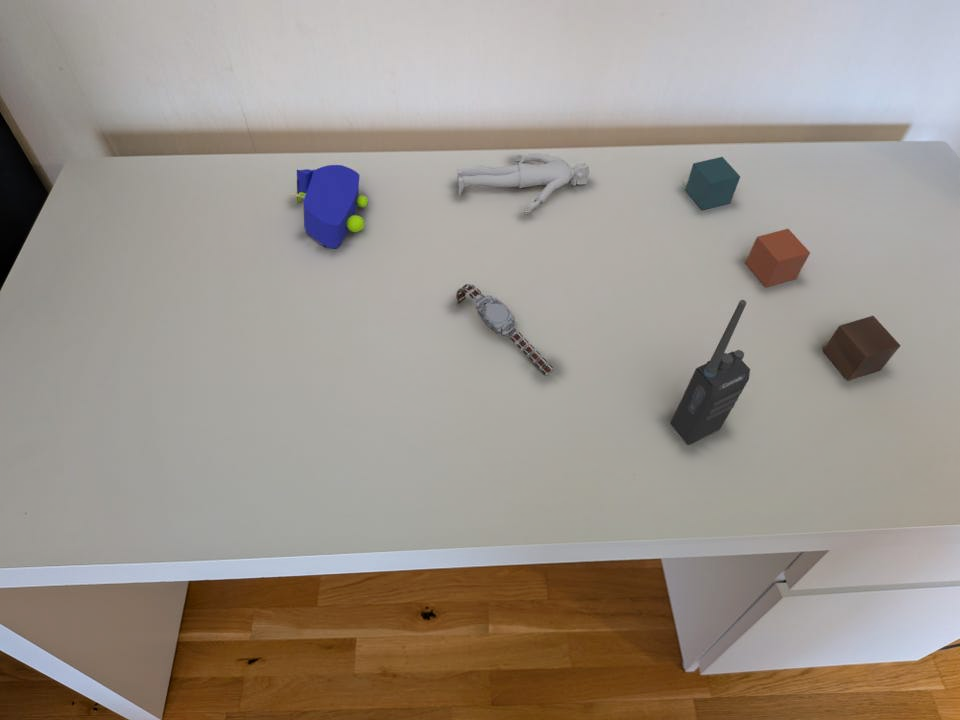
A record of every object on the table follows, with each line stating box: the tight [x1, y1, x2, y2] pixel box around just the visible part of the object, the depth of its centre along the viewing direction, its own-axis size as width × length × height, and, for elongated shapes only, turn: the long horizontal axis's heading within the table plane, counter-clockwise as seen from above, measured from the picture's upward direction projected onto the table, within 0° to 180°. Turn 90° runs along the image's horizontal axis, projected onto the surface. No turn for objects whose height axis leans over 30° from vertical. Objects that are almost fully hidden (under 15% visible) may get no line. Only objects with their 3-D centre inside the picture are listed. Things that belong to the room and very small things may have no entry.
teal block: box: [684, 156, 741, 211], centre depth 91 cm, size 4×4×4 cm
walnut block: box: [822, 315, 902, 381], centre depth 75 cm, size 4×4×4 cm
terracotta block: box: [745, 228, 811, 288], centre depth 83 cm, size 4×4×4 cm
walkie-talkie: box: [670, 299, 751, 445], centre depth 63 cm, size 5×3×20 cm
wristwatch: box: [455, 283, 554, 376], centre depth 78 cm, size 4×14×5 cm, turn 45°
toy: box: [291, 164, 369, 249], centre depth 89 cm, size 12×6×10 cm
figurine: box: [457, 152, 590, 215], centre depth 93 cm, size 12×4×18 cm
